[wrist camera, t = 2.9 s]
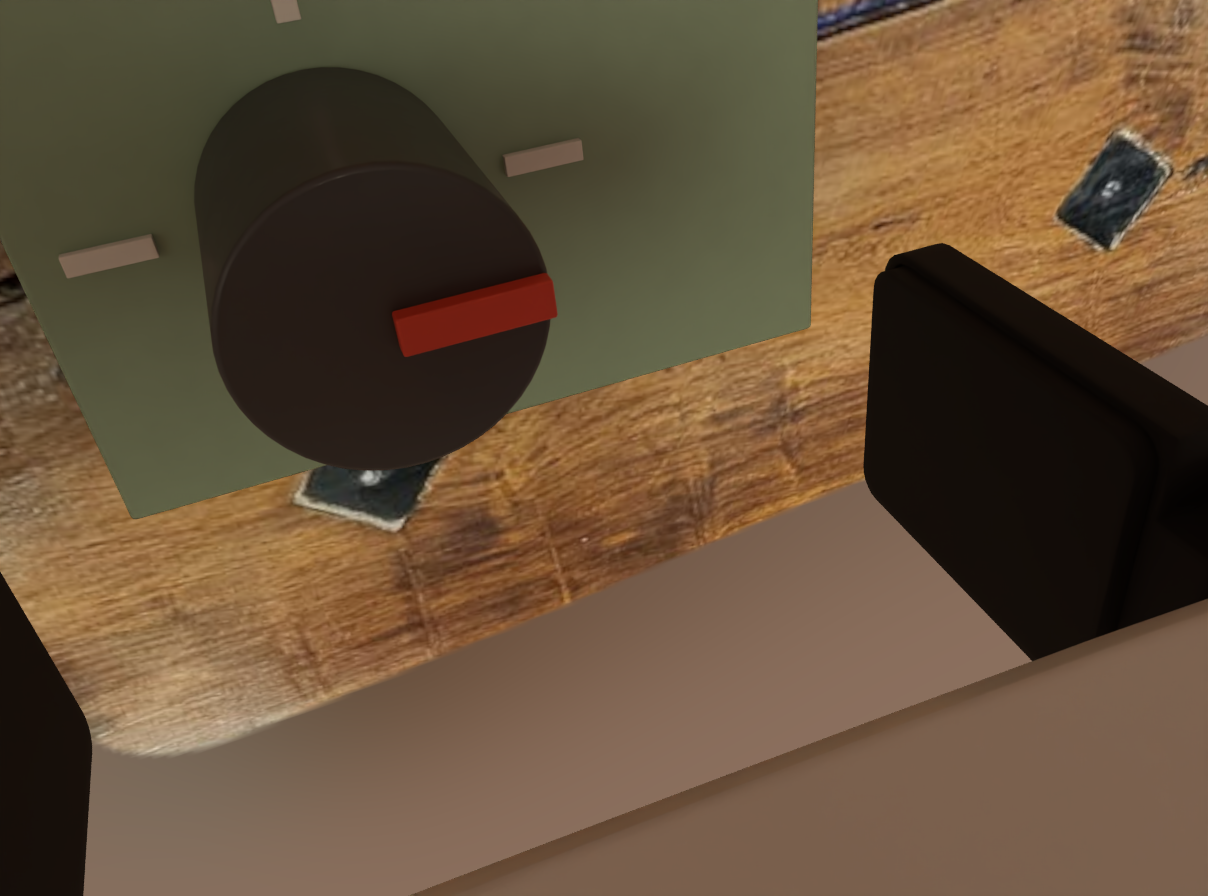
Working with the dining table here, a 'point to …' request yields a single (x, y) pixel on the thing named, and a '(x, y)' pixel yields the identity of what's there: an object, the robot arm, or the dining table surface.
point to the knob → (363, 273)
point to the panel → (482, 127)
